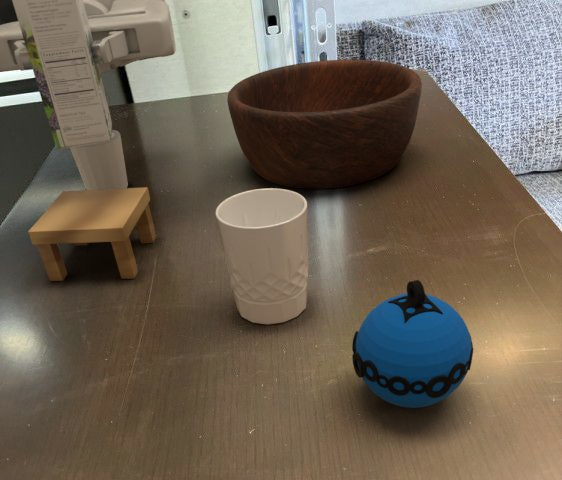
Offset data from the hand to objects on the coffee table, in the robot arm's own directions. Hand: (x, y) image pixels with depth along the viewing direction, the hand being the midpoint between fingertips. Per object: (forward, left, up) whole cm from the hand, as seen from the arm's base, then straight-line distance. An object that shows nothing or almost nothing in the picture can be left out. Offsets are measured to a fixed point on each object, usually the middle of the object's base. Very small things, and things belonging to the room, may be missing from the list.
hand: (61, 57), depth 61 cm
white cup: (+20, -14, -20) cm, 32 cm away
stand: (0, -4, -20) cm, 20 cm away
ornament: (+32, -27, -20) cm, 47 cm away
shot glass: (-6, +16, -20) cm, 26 cm away
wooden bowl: (+24, +22, -20) cm, 38 cm away
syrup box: (0, +1, -8) cm, 8 cm away
